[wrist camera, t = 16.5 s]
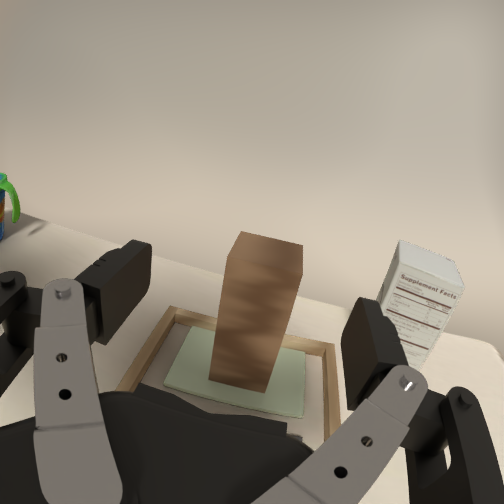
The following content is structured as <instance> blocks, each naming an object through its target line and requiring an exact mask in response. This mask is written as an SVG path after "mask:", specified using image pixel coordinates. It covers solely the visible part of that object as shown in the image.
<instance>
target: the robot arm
mask: <svg viewBox="0 0 504 504" xmlns="http://www.w3.org/2000/svg"><path fill="white" fill-rule="evenodd" d="M151 258H152V246H151V244H148V243H145V242H141V241H137V240H131V241H130V242H128V243H127V244H126V245H125V246H123V247H122V248H121V249H120V248H117V249H114V250H111V251H109V252H106V253H105V254H104V255H103V256H101V257H100V258H99V260H96V261H95V262H94V263H93V265H90V266H89V267H88V268H87V269H85V270H84V271H83V272H82V273H81V274H79V275H78V276H77V277H76V278H75V279H74V280H73V279H67V278H64V279H57V280H54V281H52V282H50V283H48V284H47V285H46V286H45V287H44V289H39V288H32V287H27V283H26V278H25V276H24V275H23V274H22V273H20V272H17V271H8V272H4V273H1V274H0V324H1V323H2V326H3V329H4V333H3V334H2V335H1V336H0V397H1V396H2V394H3V393H4V392H5V390H6V389H7V388H8V386H9V385H10V384H11V382H12V381H13V380H14V378H15V377H16V376H17V375H18V373H19V372H20V371H21V369H22V368H23V367H24V366H25V364H26V363H27V362H28V360H29V359H30V358H31V357H32V355H33V354H34V401H35V416H34V417H31V418H28V419H25V420H22V421H19V422H15V423H12V424H9V425H6V426H2V427H0V504H358V503H359V501H360V500H361V499H362V498H363V496H364V495H365V494H366V493H367V491H368V490H369V489H370V487H371V486H372V485H373V483H374V482H375V481H376V479H377V478H378V477H379V475H380V474H381V472H382V471H383V470H384V468H385V467H386V465H387V464H388V462H389V461H390V459H391V458H392V456H393V455H394V453H395V452H396V450H397V449H398V447H399V446H400V447H403V448H405V454H406V463H407V474H408V486H409V501H410V504H504V484H503V480H502V475H501V471H500V468H499V464H498V460H497V456H496V453H495V449H494V446H493V443H492V439H491V436H490V433H489V430H488V427H487V424H486V421H485V418H484V415H483V412H482V409H481V407H480V404H479V401H478V399H477V398H476V396H475V395H474V394H473V393H472V392H470V391H469V390H468V389H466V388H463V387H453V388H451V389H450V391H449V392H448V393H447V394H446V396H445V395H442V394H439V393H437V392H434V391H431V390H429V389H428V384H427V381H426V379H425V378H424V376H423V375H422V374H421V373H420V372H419V371H417V370H416V369H414V368H412V367H410V366H409V364H408V361H407V358H406V355H405V352H404V349H403V346H402V344H401V341H400V338H399V336H398V332H397V330H396V327H395V325H394V324H393V323H392V321H391V320H390V319H389V318H388V317H387V316H383V313H382V310H381V307H380V304H379V302H378V301H375V300H370V299H366V298H362V297H359V298H358V300H357V301H356V303H355V305H354V308H353V310H352V312H351V314H350V317H349V319H348V321H347V323H346V326H345V328H344V330H343V333H342V337H341V351H342V359H343V368H344V378H345V388H346V398H347V410H352V411H354V412H353V413H352V414H351V415H350V416H349V417H348V418H347V420H346V421H345V422H344V423H343V424H342V425H341V426H340V427H339V428H338V429H337V430H336V431H335V432H334V433H333V434H332V435H331V436H330V437H329V438H328V439H327V440H326V441H325V442H324V443H323V444H322V445H321V446H320V447H319V448H318V449H317V450H316V451H315V452H314V451H313V450H312V449H311V448H310V447H308V446H307V445H306V444H304V443H303V442H301V441H300V440H298V439H296V438H294V437H293V436H290V435H288V434H286V430H287V423H285V422H280V421H274V420H269V419H265V418H260V417H255V416H251V415H225V414H211V413H207V412H205V411H203V410H201V409H199V408H197V407H195V406H194V405H192V404H190V403H188V402H186V401H184V400H183V399H181V398H179V397H177V396H176V395H174V394H171V393H168V392H165V391H162V390H159V389H156V388H153V387H150V386H148V385H145V384H142V383H138V385H137V387H136V389H135V390H134V392H131V391H110V392H104V393H100V394H99V389H98V384H97V379H96V374H95V369H94V363H93V357H92V351H91V345H92V344H93V342H94V341H96V342H98V343H101V344H103V345H106V344H107V343H108V342H109V340H110V339H111V338H112V336H113V335H114V334H115V333H116V331H117V330H118V329H119V327H120V326H121V325H122V324H123V322H124V321H125V320H126V318H127V317H128V316H129V315H130V313H131V312H132V311H133V309H134V308H135V307H136V306H137V304H138V303H139V302H140V301H141V299H142V298H143V297H144V296H145V294H146V293H147V291H148V288H149V285H150V278H151ZM448 445H449V450H450V455H451V464H450V467H449V469H448V470H447V465H446V459H445V454H444V449H445V448H446V447H447V446H448Z"/></svg>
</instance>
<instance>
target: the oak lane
mask: <svg viewBox="0 0 504 504" xmlns="http://www.w3.org/2000/svg"><path fill="white" fill-rule="evenodd" d="M175 322H176V323H180V324H183V325H187V326H191V327H192V326H196V327H200V328H203V329H207V330H211V331H216V325H217V318H214V317H210V316H206V315H202V314H199V313H195V312H191V311H187V310H184V309H180V308H176V307H173V306H169V308H168V309H167V311H166V312H165V314H164V315H163V317H162V318H161V320H160V321H159V323H158V324H157V326H156V327H155V329H154V330H153V332H152V333H151V335H150V337H149V338H148V340H147V341H146V343H145V344H144V346H143V347H142V349H141V350H140V352H139V354H138V355H137V357H136V358H135V360H134V361H133V363H132V364H131V366H130V368H129V369H128V371H127V372H126V374H125V376H124V377H123V379H122V380H121V382H120V383H119V385H118V387H117V388H116V390H115V391H131V392H134V390H135V389H136V387H137V385H138V383H140V381H141V379H142V378H143V376H144V374H145V372H146V371H147V369H148V367H149V365H150V364H151V362H152V360H153V358H154V357H155V355H156V353H157V352H158V350H159V348H160V346H161V345H162V343H163V341H164V340H165V338H166V336H167V334H168V333H169V331H170V329H171V328H172V326H173V324H174V323H175ZM281 347H283V348H288V349H293V350H298V351H303V352H305V353H306V354H311V355H316V356H322V361H323V386H324V442H325V441H326V440H327V439H328V438H329V437H330V436H331V435H332V434H333V433H334V432H335V431H336V430H337V429H338V428H339V427H340V426H341V420H340V404H339V390H338V378H337V367H336V356H335V346H334V344H331V343H326V342H321V341H316V340H311V339H306V338H301V337H296V336H291V335H286V334H284V337H283V340H282V344H281Z"/></svg>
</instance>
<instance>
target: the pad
mask: <svg viewBox="0 0 504 504" xmlns="http://www.w3.org/2000/svg"><path fill="white" fill-rule="evenodd" d="M214 338H215V331H211V330H207V329H203V328H200V327H196V326H192V327H191V329H190V331H189V333H188V335H187V337H186V339H185V341H184V343H183V345H182V347H181V348H180V350H179V352H178V354H177V356H176V358H175V360H174V362H173V364H172V366H171V368H170V370H169V372H168V374H167V376H166V378H165V380H164V382H163V385H164V386H167V387H170V388H173V389H176V390H180V391H183V392H186V393H190V394H193V395H197V396H200V397H204V398H208V399H211V400H215V401H219V402H223V403H227V404H231V405H236V406H240V407H244V408H249V409H253V410H258V411H263V412H268V413H273V414H278V415H284V416H290V417H296V418H303V413H304V385H305V352H303V351H298V350H293V349H288V348H283V347H280V350H279V353H278V356H277V359H276V362H275V365H274V368H273V371H272V374H271V377H270V380H269V383H268V386H267V389H266V392H265V393H260V392H255V391H251V390H246V389H242V388H238V387H234V386H230V385H226V384H222V383H218V382H214V381H210V380H208V379H209V372H210V365H211V358H212V351H213V344H214Z"/></svg>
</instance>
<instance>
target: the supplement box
mask: <svg viewBox="0 0 504 504" xmlns="http://www.w3.org/2000/svg"><path fill="white" fill-rule="evenodd" d="M464 289H465V286H464V284H463V281H462V279H461V277H460V275H459V272H458V270H457V267H456V265H455V262H454V261H453V260H451V259H449V258H447V257H445V256H442V255H440V254H437V253H435V252H432V251H429V250H427V249H424V248H421V247H419V246H416V245H413V244H411V243H408V242H405V241H402V240H399V242H398V245H397V248H396V251H395V253H394V256H393V259H392V261H391V264H390V267H389V269H388V272H387V275H386V278H385V280H384V282H383V284H382V287H381V289H380V292H379V294H378V296H377V299H376V301H378V302H379V304H380V307H381V310H382V313H383V316H387V317H388V318H389V319H390V320H391V321H392V323H393V324H394V325H395V327H396V330H397V332H398V336H399V338H400V341H401V344H402V346H403V349H404V352H405V355H406V358H407V361H408V364H409V366H410V367H412V368H414V369H416V370H417V371H419V370H420V368H421V367H422V365H423V363H424V362H425V360H426V359H427V357H428V355H429V354H430V352H431V351H432V349H433V347H434V346H435V344H436V342H437V340H438V339H439V337H440V335H441V333H442V332H443V330H444V328H445V326H446V324H447V323H448V321H449V319H450V317H451V315H452V313H453V311H454V309H455V307H456V305H457V304H458V301H459V299H460V297H461V295H462V293H463V291H464Z"/></svg>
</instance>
